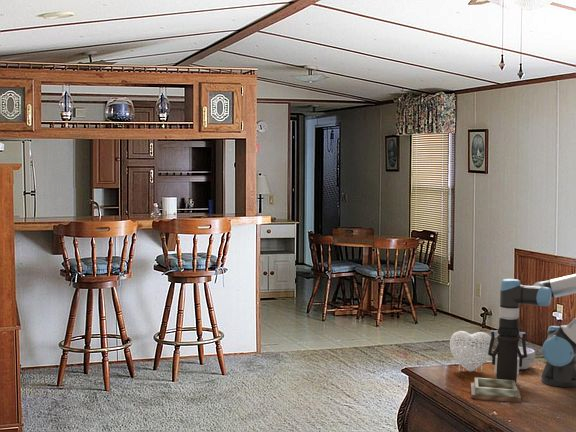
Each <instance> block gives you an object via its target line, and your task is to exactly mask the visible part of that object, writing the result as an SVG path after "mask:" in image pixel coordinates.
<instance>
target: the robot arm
mask: <svg viewBox="0 0 576 432" xmlns="http://www.w3.org/2000/svg"><path fill="white" fill-rule="evenodd" d="M500 283H501V284H500V290H499V291H500V295H499V297H500V298H499V314H498V315H499V318H498V319H499V320H498V323H499V324H498V329H497V330H493V329H491V330H490V337H491V340H490V343H489V344H490V345H489V349H488V352H487V353H488V355H490V356H489V357H491V364H492V365H493V366H494V371H493V372H494V374H495V375H496V374H497V355H498V350H499V343H498V342H497V344H496V346H495V348H494V343H495V337H497V336H498V335H500V336H511V337H517V336H518V337H519V338H521V345H522V346H521V347H523V355H521V352H520V350H519V347H520V346H518V348H517V353H518V356H519V358H517V376H520V375H519V374H520V369H519V367H522V359H523V358H527V351H526V347H527V345H526V337H527V334H526V332H525V331H523V332H522V331H520V330H519V318H520V317H519V316H520V305H528V306H529V305H530V306H531V305H532V306H538V307H549V306H551V302H552V299H555V298H559V297H564V296H568V295H569V296H570V295H572V294H573V295H574V294H576V273H573V274H570V275H563V276H562V277H557V278H551V279H548V280H543V281H541V280H540V281H536V282H534V283H533V284H532V285H523V284H521V280H519V279H515V278H503V279H502V280H501V282H500ZM546 332H547V338H546V339H545V341H544V342H543V344H542V350H541V351H542V355H543V358H544V359H545V360H546V363H545V366H544V369H543V371H542V373H541V379H540V381H541V382H542V383H544V384H546V385H548V386H552V387H559V386H560V387H561V388H575V386H576V317H575V318H573V319H572V320H571V321H570V322H569V323H568V324H561V325H560V326H559V325H550V326H548V329H547V331H546ZM497 334H498V335H497ZM492 348H494V350H493V349H492Z"/></svg>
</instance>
